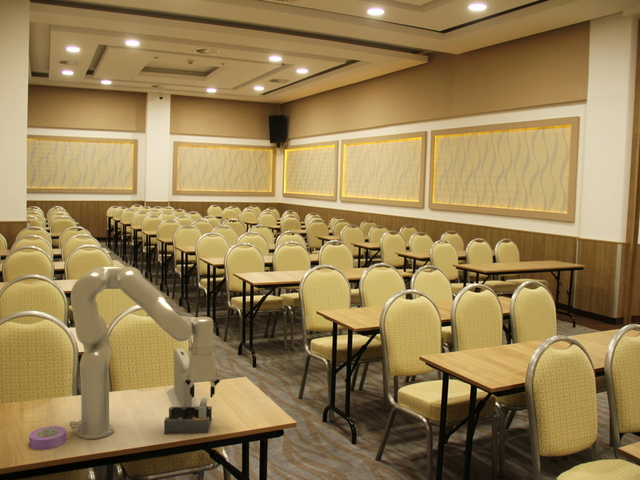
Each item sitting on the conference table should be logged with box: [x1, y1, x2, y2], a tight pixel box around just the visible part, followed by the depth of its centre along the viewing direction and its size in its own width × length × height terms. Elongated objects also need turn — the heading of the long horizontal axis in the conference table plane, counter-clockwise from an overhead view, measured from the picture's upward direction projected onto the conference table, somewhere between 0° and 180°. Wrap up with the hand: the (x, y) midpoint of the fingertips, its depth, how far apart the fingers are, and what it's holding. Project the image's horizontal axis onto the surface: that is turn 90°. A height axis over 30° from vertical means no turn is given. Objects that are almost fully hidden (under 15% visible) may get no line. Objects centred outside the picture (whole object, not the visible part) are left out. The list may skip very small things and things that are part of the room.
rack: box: [163, 405, 213, 435], centre depth 228 cm, size 16×14×5 cm
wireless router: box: [166, 347, 200, 407], centre depth 256 cm, size 31×10×20 cm, turn 22°
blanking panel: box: [198, 397, 208, 419], centre depth 228 cm, size 2×11×8 cm, turn 6°
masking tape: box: [28, 425, 67, 451], centre depth 211 cm, size 12×12×4 cm
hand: (202, 396), depth 228 cm, fingers open, 6 cm apart
